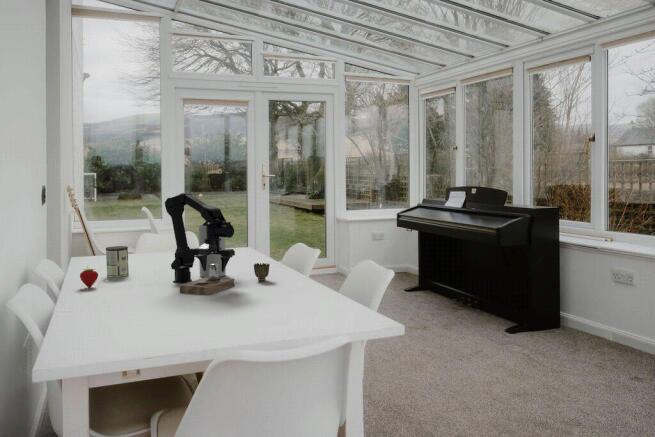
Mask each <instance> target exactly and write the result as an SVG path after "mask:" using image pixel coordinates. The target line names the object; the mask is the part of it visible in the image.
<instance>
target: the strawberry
mask: <svg viewBox="0 0 655 437" xmlns="http://www.w3.org/2000/svg"><path fill="white" fill-rule="evenodd" d="M88 267H89V265H87V267H86V268H87V269H86V268H85V269H84V270H82V272H81V273H80V275H79V278H80V281H81V282H82V283H83V284H84V285H85V286H86V287H87V288H92V286H93V285H94V284H95V283H96V282H97V280H98V277H99V273H98V271H95V270H96V268H88Z"/></svg>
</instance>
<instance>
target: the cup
mask: <svg viewBox="0 0 655 437" xmlns="http://www.w3.org/2000/svg"><path fill="white" fill-rule="evenodd" d="M253 272H254V276H255V277H256V278H257V281H258V282H266V278H267V277H268V276H269V273H270V263H266V262H265V263H264V262H263V263H261V262H260V263H258V262H256V263H254V264H253Z"/></svg>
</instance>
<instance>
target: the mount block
mask: <svg viewBox="0 0 655 437" xmlns="http://www.w3.org/2000/svg"><path fill="white" fill-rule="evenodd" d="M234 286H235V278H231V277H229V278H228V277H218V281H209V277H201V278H199V279H196V280H192V281H189V282H186V283H182V284H180V285H179V293H180V294H181V293H182V294H183V293H184V294H197V295H207V296H209V295H211V294H214V293H217V292H219V291H220V292H221V291H222V290H225V289H228V288H231V287H234Z"/></svg>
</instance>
